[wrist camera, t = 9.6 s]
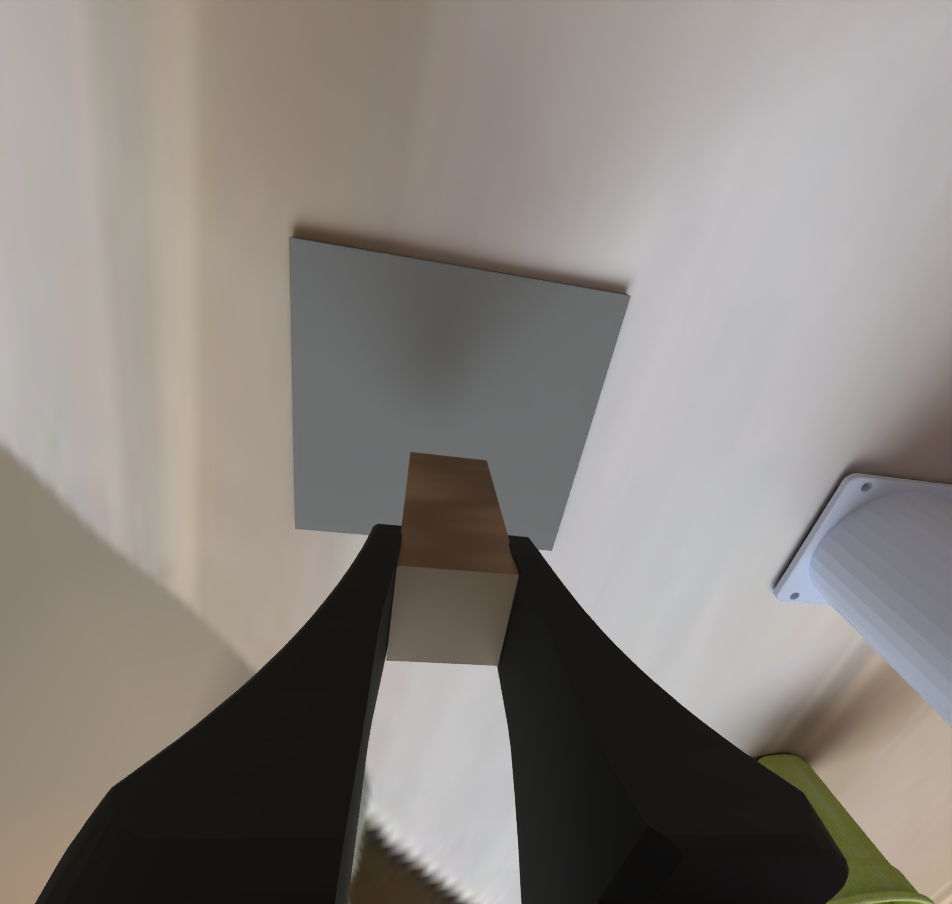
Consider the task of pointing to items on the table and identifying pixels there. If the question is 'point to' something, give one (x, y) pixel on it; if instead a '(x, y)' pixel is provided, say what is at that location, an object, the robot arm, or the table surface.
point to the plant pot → (847, 841)
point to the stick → (451, 566)
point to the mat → (439, 383)
